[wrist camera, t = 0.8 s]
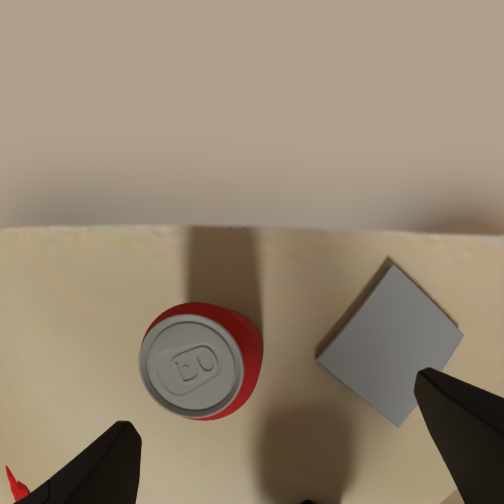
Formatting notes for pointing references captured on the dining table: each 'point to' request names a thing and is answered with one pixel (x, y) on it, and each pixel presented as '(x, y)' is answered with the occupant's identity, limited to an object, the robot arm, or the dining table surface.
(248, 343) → the beverage can
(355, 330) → the trivet
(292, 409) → the dining table surface
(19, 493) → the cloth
